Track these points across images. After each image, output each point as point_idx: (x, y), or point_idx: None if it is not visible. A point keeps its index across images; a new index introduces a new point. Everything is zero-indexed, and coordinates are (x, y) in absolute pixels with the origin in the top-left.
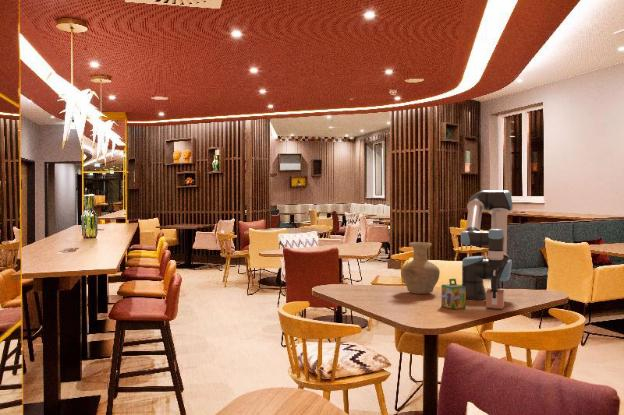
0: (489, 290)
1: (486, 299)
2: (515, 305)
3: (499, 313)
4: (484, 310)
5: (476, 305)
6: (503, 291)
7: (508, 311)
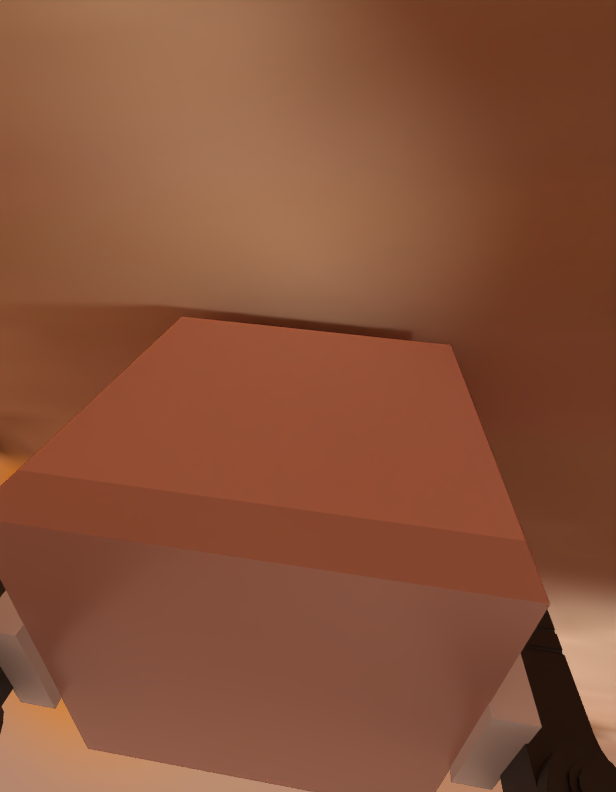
0: (214, 604)
1: (116, 381)
2: (551, 614)
3: (23, 448)
4: (71, 281)
5: (455, 105)
6: (238, 776)
7: None
